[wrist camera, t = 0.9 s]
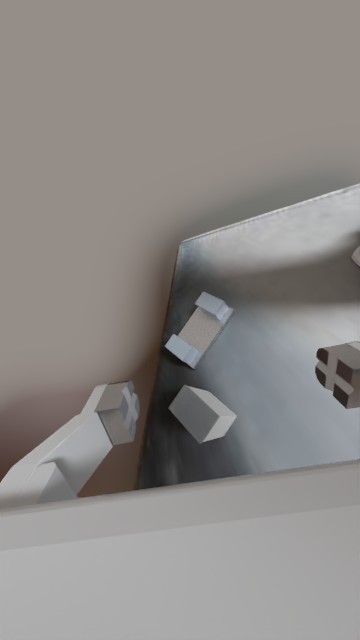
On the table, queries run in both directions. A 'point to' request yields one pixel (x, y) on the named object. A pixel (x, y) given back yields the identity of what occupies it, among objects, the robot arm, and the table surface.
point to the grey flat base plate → (203, 332)
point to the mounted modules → (210, 307)
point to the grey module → (201, 413)
